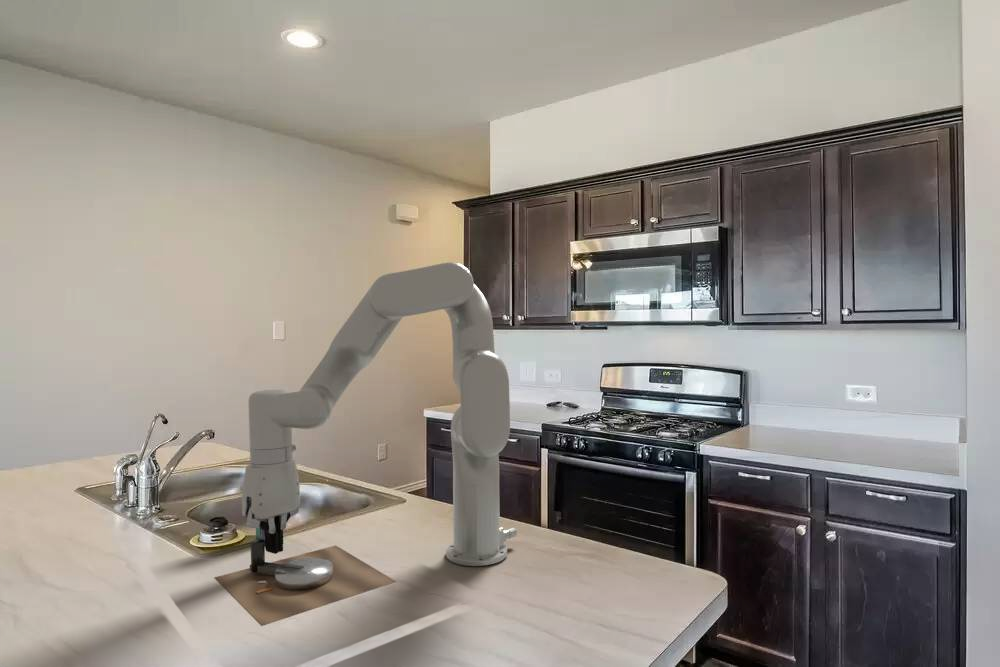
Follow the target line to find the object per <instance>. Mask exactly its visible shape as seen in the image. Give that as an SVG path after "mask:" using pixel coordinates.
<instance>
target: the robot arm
mask: <svg viewBox="0 0 1000 667" xmlns="http://www.w3.org/2000/svg"><path fill="white" fill-rule="evenodd" d="M474 281H475V280H474V278H473V275H472V273H471V272H470V270H469V269H468V268H467V267H466V266H464V265H463V264H461V263H458V262H452V261H451V262H450V261H448V262H442V263H438V264H434V265H433V264H432V265H428V266H422V267H418V268H412V269H409V270H402V271H398V272H390V273H386V274H382V275H381V276H379V277H378V278H377V279H376V280H375V281H374V282H373V284H372V285H371V286H370V288H369V289H368V290H367V292H366V293H365V295H364V296H363V297H362V298H361V300H360V301H359V303H358V304H357V306H355V308H354V310H353V311H352V313H351V314H350V315H349V317H348V318H347V319H346V321H345V322H344V323H343V325H342V326H341V328H340V329H339V330H338V332H337V333H336V335H335V336H334V338H333V339H332V341H331V343H330V346H329V347H328V350H327V351H326V353H325V354H324V356H323V357H322V358H321V360H320V362H319V363H318V364H317V366H316V368H315V369H314V370H313V372H312V373H311V374H310V376H309V377H308V378H307V380H306V381H305V383H304V384H303V385H302V387H301V388H300V389H299V390H298V391H292V392H288V391H286V390H284V389H283V390H282V389H265V390H258V391H254V392H252V393H251V394H250V396H249V398H248V424H249V425H248V428H249V430H248V431H249V458H250V460H249V461H250V464H248V465H246V466H245V471H244V476H243V481H242V482H243V483H242V496H241V514H242V516H243V517H245V518H247V519H246V524H245V525H246V527H247V528H250V529H256V528H260V529H261V530H262V531H264V536H265V551H266V552H267V553H271V554H274V555H275V554H276V555H277V554H278V553H281V552H284V530H286V527H287V523H288V522H289V520H290V519H291V517H292V518H293V516H295V515H297V514H298V513H299V506H300V504H301V490H300V480H299V479H300V478H299V472H298V467H297V462H296V459H295V458H293V452H296V451H297V446H296V445H295V444H293V436H292V435H293V433H292V429H299V430H300V429H302V430H314V429H317V428H321V427H322V426H324V425H326V423H327V422H328V420H329V419H330V417H331V415H332V410H333V408H334V407H335V405H336V404H337V402H338V401H339V400H340V399H341V397H342V395H343V394H344V392H345V391H346V390H347V388H349V386H350V384H351V383H352V382H353V380H354V379H355V378H356V377H357V375H358V374H360V373H361V371H363V370H364V369H365V368H367V366H369V365H370V363H371V362H372V361H373V360H374V359H375V358H376V356H377V354H378V353H379V352H380V350H381V349H382V347H383V345H384V344H385V343H386V341H387V340H388V338H389V337H390V336H391V335H392V333H393V332H394V330H395V329H396V328H397V326H398V325H399V323H400V321H401V320H402V319H403V318H406V317H411V316H416V315H421V314H422V315H423V314H426V313H431V312H435V311H441V310H444V311H445V312H446V314H447V315H448V318H449V321H450V327H451V336H452V337H451V338H452V380H453V382H454V385H455V386H456V387H457V390H459V393H460V394H459V395H460V406H459V407H457V409H456V410H455V412H454V413H453V416H452V419H451V423H450V439H451V451H452V452H451V454H452V474H453V475H452V476H453V477H452V478H453V479H452V491H453V492H452V496H453V498H452V499H453V500H452V502H453V503H452V505H453V506H452V507H453V508H452V510H453V516H452V517H453V519H452V520H453V522H452V523H453V543H451V544H450V545H448V547H447V548H446V550H445V555H446V558H447V559H448V560H449V561H450V562H452V563H453V564H456V565H460V566H466V567H484V566H489V565H494V564H497V563H499V562H502V561H503V560H505V559H506V558H507V556H508V548H507V546H506V545H505V543H506V541H507V540H509V539H513V538H515V537H517V535H518V532H517V529H516V528H515V527H511V528H508V529H506V530H504V528H503V527H500V525H501V524H500V522H501V521H500V519H501V518H500V509H501V508H500V457H499V453H500V452H502V451H503V449H505V447H506V445H507V443H508V441H509V438H510V432H511V410H510V409H511V406H510V404H511V403H510V402H511V401H510V381H509V373H508V370H507V367H506V364H505V362H504V361H503V360H502V359H501V358H500V357H499V356H498V355H497V354H496V352H495V351H496V350H495V337H494V336H495V335H494V323H493V315H492V311H491V308H490V305H489V303H488V300H487V298H486V297H485V296H484V294H483V293H482V291H481V290H480V288H478V286H477V285H476V284H475V283H474Z"/></svg>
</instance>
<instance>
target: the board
mask: <svg viewBox="0 0 1000 667" xmlns="http://www.w3.org/2000/svg"><path fill="white" fill-rule="evenodd" d="M304 558H321V559H326V560H329V561H330V562H331V563H332V564H333V576H332V578H331V579H330V580H329V581H328V582H326V583H324V584H322V585H319V586H316V587H313V588H308V589H301V590H289V589H283V588H280V587H278V586H277V585H276V584H275V575H272V574H265V573H253V572H250V567H249V568H245V569H242V570H241V569H240V570H237V571H234V572H230V573H226V574H222V575H218V576H214V579H215V580H216V581H217V582H218V583H219V584H220V585H221V586H222V587H223V588H224V589H225V591H227V592H228V593H229V595H231V597H233V599H234V600H236V601H237V603H239V605H240V606H241V607H243V609H244V610H246V612H247V613H248V614H249V615H250V616H251V617H252V618H253V619H254V620H255V621H256V622H257V623H258V624H259V625H260V627H261V626H262V627H263V626H267V625H269V624H272V623H275V622H278V621H281V620H284V619H287V618H290V617H293V616H297V615H300V614H302V613H305V612H308V611H311V610H314V609H317V608H320V607H323V606H326V605H330V604H333V603H335V602H339V601H342V600H344V599H348V598H350V597H351V598H352V597H354V596H357V595H360V594H363V593H366V592H369V591H372V590H375V589H378V588H381V587H385V586H388V585H391V584H394V583H396V582H397V581H396V580H395V579H393V578H392V577H390V576H388V575H387V574H385V573H383V572H381V571H380V570H378V569H377V568H374V567H373V566H372V565H370V564H368V563H366V562H365V561H363V560H361V559H360V558H358V557H356V556H354V555H352V554H351V553H349V552H348V551H346V550H344V549H343V548H342V547H340V546H337V545H332V546H329V547H325V548H321V549H318V550H314V551H309V552H305V553H302V554H297V555H293V556H290V557H286V558H282V559H279V560H276V561H271V562H270V563H276V564H285V563H287V562H290V561H293V560H298V559H304Z"/></svg>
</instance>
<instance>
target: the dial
mask: <svg viewBox="0 0 1000 667" xmlns="http://www.w3.org/2000/svg"><path fill="white" fill-rule="evenodd" d="M265 551H266V548H265V540H264V539H256V538H255V539H253V540H250V565H249V568H250V572H253V573H265V574H272V575H275V584H276V585H277V586H278V587H280V588H283V589H289V590H301V589H308V588H313V587H316V586H319V585H322V584H324V583H326V582H328V581H329V580H330V579H331V578H332V576H333V564H332V563H331V562H330V561H329V560H326V559H321V558H304V559H298V560H293V561H290V562H287V563H285V564H276V563H271V562H267V561H266V555H265V554H266V553H265Z"/></svg>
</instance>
